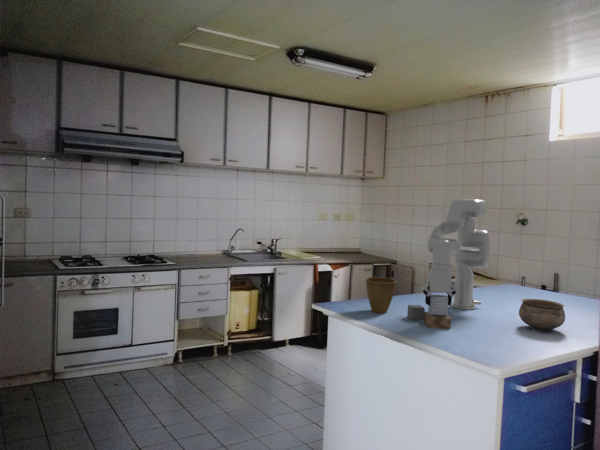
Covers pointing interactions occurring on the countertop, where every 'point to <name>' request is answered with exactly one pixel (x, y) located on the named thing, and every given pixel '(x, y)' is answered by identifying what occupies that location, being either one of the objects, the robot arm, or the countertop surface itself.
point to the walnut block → (437, 321)
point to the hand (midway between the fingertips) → (438, 304)
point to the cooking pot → (542, 314)
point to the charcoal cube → (416, 312)
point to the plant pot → (380, 293)
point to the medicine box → (438, 305)
